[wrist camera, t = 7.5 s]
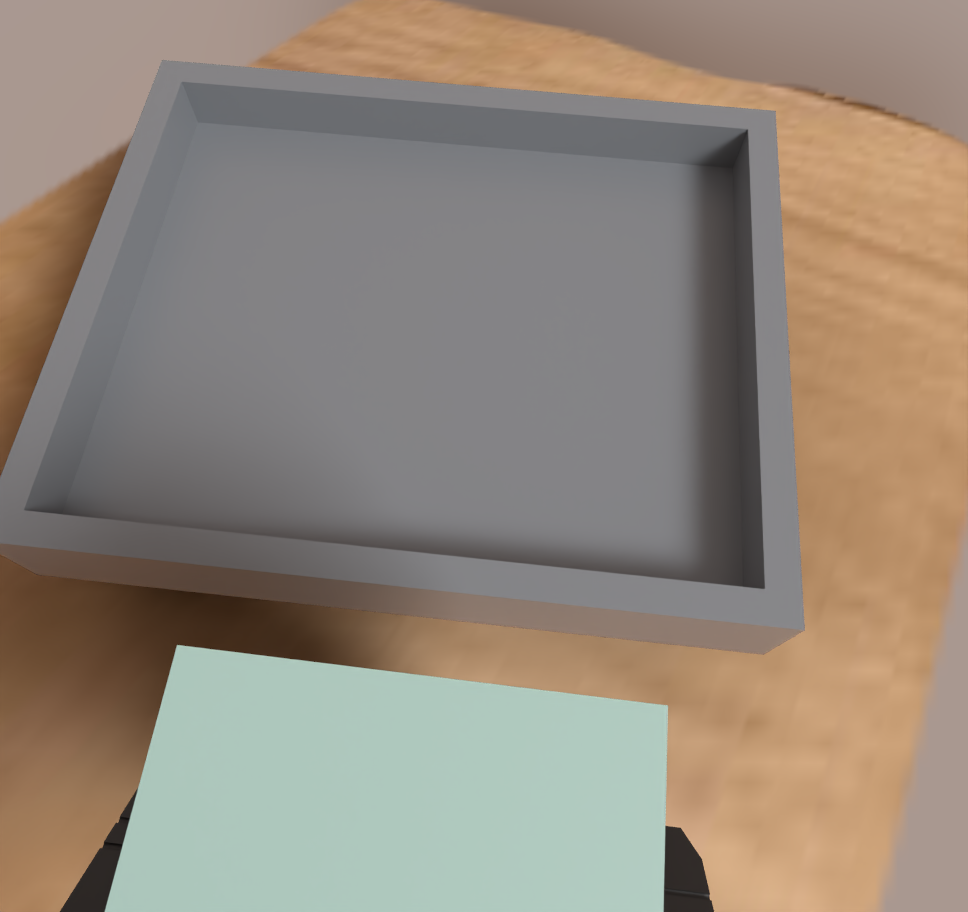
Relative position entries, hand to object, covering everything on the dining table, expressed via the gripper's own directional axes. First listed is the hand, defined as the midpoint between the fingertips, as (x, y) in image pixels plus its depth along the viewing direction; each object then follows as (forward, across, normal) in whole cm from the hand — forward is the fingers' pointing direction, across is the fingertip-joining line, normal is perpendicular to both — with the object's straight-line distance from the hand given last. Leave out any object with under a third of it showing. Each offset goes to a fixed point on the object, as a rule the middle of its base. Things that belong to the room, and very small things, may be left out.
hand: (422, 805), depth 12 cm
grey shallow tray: (+15, +2, -2) cm, 15 cm away
